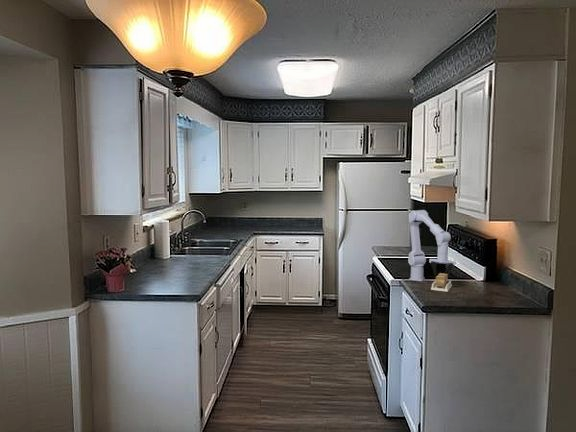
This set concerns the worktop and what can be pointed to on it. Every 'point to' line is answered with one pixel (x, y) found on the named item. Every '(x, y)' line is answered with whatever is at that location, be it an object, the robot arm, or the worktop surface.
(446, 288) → the peg base
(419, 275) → the robot arm
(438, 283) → the golden brown block
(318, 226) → the worktop surface
